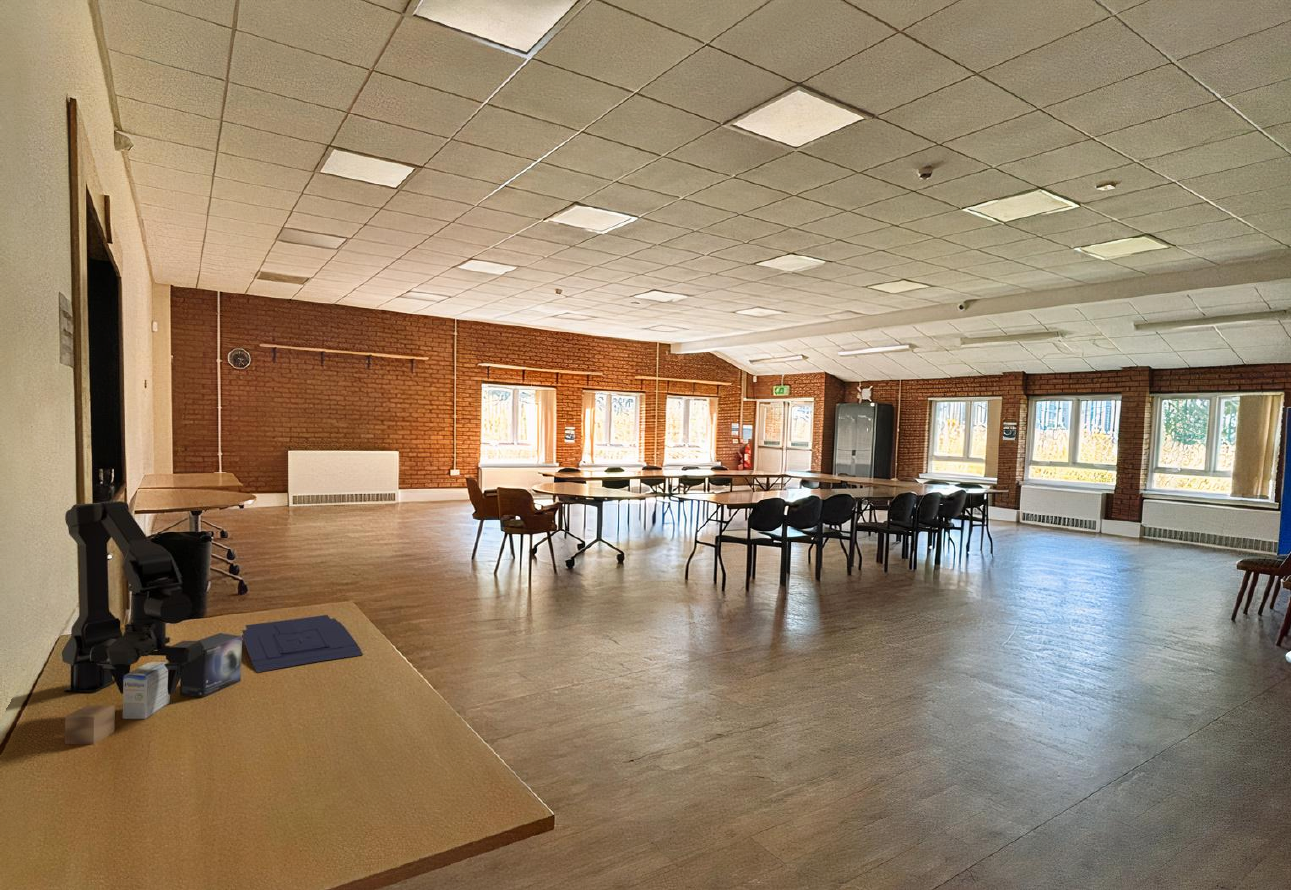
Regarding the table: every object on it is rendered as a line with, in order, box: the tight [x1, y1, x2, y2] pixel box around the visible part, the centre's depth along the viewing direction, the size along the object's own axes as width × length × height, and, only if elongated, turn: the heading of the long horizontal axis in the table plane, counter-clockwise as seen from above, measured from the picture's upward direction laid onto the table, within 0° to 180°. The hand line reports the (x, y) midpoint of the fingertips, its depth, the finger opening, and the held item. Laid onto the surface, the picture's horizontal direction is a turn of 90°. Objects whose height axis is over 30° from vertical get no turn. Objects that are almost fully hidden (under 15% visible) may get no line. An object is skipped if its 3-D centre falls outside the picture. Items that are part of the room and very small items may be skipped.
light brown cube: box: [64, 704, 116, 745], centre depth 126 cm, size 5×5×5 cm
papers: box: [241, 614, 364, 673], centre depth 180 cm, size 24×30×4 cm
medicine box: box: [122, 661, 171, 720], centre depth 138 cm, size 8×4×9 cm, turn 5°
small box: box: [178, 632, 243, 698], centre depth 151 cm, size 11×6×10 cm, turn 168°
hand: (147, 693), depth 138 cm, fingers open, 9 cm apart
